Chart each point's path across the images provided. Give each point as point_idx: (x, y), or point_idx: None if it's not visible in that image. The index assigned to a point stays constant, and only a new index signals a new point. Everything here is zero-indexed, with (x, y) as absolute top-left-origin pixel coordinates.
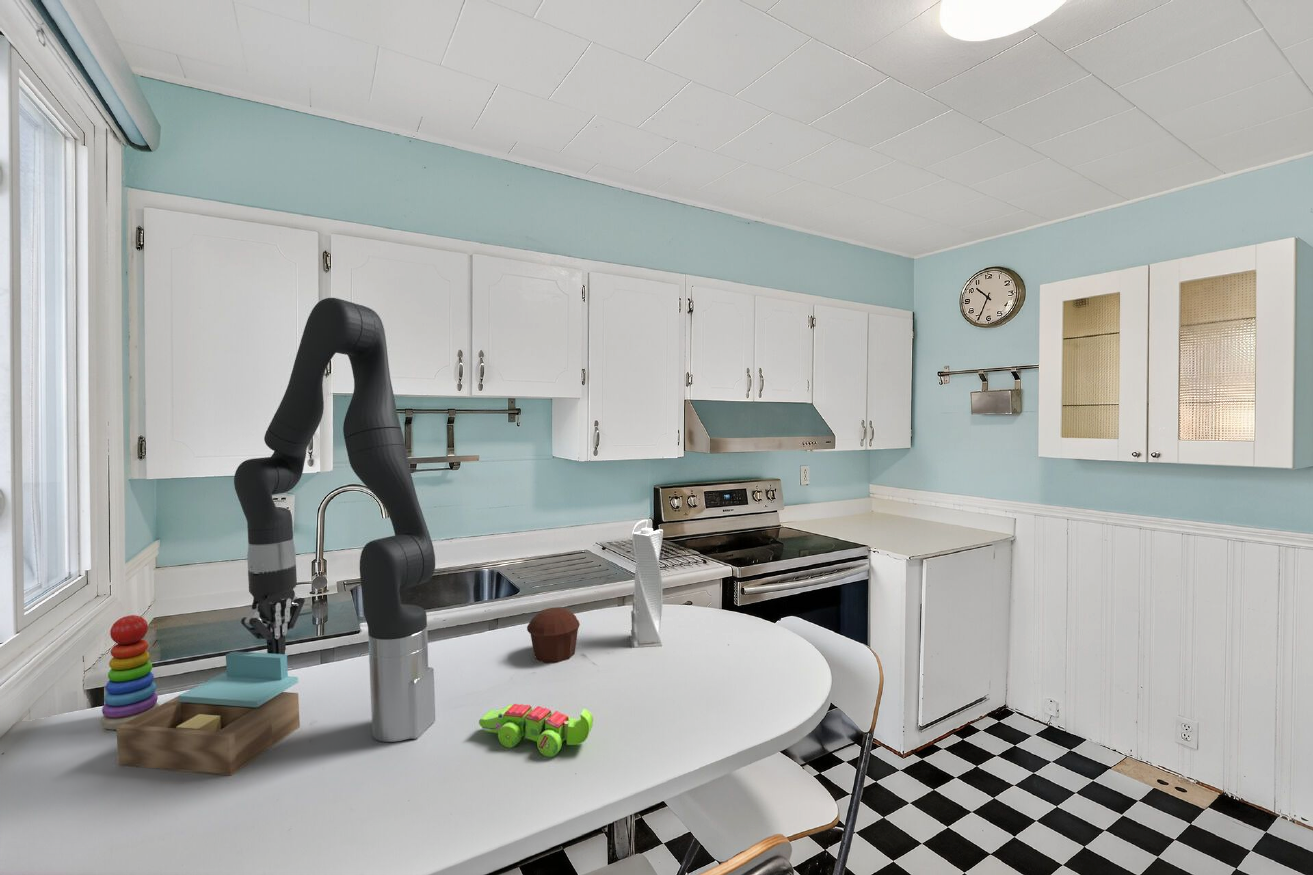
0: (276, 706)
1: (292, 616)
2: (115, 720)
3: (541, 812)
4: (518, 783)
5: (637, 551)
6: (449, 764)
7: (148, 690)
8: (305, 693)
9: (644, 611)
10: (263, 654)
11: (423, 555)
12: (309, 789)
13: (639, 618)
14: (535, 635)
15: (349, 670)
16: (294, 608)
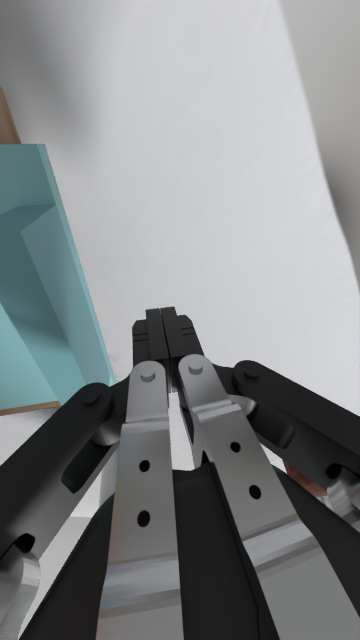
0: (27, 410)
1: (271, 447)
2: None
3: (78, 512)
4: (97, 499)
5: None
6: (98, 475)
7: None
8: (198, 273)
9: (324, 497)
10: (73, 384)
11: None
12: (4, 441)
13: None
14: (294, 471)
15: (296, 279)
16: (321, 478)
